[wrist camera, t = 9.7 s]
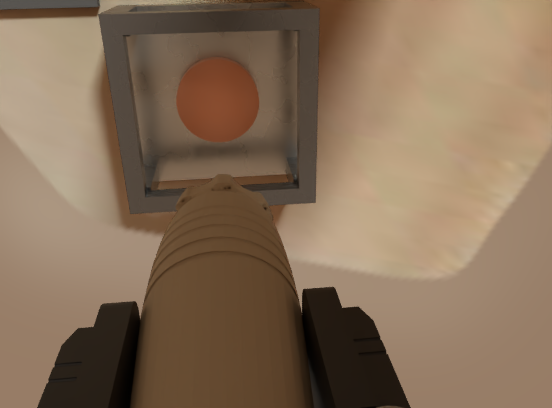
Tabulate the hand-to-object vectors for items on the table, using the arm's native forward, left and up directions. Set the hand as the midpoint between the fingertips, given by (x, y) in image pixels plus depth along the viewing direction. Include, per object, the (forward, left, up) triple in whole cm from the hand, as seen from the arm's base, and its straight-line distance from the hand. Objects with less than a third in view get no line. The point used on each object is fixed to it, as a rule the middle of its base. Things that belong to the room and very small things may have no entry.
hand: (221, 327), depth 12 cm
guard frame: (0, 0, -23) cm, 23 cm away
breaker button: (0, 0, -22) cm, 22 cm away
